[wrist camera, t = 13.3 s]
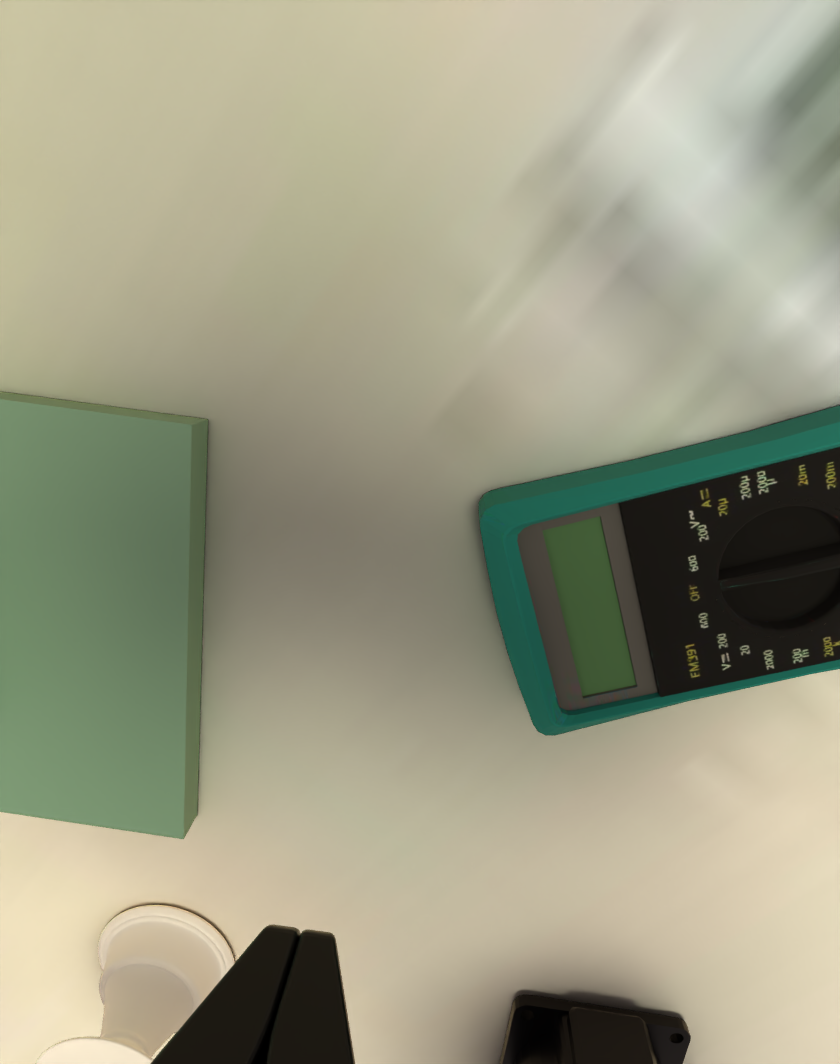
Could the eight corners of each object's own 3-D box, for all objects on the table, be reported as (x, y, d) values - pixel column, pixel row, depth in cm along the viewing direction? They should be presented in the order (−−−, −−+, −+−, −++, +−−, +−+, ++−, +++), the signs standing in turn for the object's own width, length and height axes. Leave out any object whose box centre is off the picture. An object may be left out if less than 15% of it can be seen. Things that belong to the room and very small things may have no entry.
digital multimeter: (1012, 595, 20) (1104, 639, 17) (524, 700, 22) (533, 755, 19) (1001, 350, 18) (1103, 354, 15) (467, 490, 20) (468, 516, 17)
